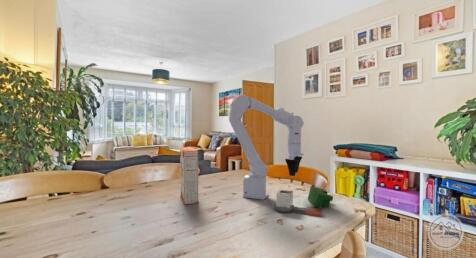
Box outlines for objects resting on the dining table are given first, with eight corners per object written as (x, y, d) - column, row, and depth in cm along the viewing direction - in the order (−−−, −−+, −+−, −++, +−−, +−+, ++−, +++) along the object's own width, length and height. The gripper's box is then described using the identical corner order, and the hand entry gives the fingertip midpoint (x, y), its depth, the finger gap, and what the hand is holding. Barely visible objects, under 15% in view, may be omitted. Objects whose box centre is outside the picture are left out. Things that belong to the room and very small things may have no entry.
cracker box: (179, 195, 110) (179, 147, 110) (193, 193, 112) (193, 146, 112) (182, 205, 97) (183, 150, 96) (198, 203, 99) (198, 150, 98)
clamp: (326, 219, 96) (335, 201, 92) (310, 215, 96) (319, 196, 92) (321, 198, 107) (329, 181, 103) (307, 194, 107) (314, 177, 103)
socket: (276, 206, 92) (276, 192, 91) (279, 202, 96) (279, 189, 96) (290, 208, 90) (290, 194, 90) (292, 204, 94) (292, 191, 94)
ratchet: (272, 211, 91) (272, 200, 91) (277, 205, 98) (277, 195, 97) (320, 218, 85) (321, 206, 85) (322, 211, 92) (322, 200, 91)
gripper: (301, 144, 103) (300, 178, 103) (305, 142, 116) (305, 171, 117) (283, 144, 105) (283, 176, 106) (290, 141, 119) (289, 170, 119)
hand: (293, 174), depth 111 cm, fingers open, 7 cm apart
